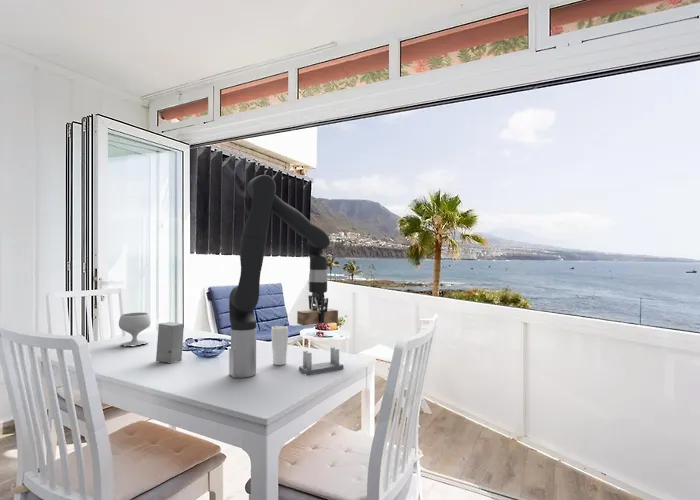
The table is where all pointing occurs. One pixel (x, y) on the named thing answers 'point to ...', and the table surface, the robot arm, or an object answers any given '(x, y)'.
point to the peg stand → (320, 367)
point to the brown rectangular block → (316, 317)
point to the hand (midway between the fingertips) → (317, 321)
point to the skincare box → (169, 342)
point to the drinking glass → (279, 344)
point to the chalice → (134, 326)
